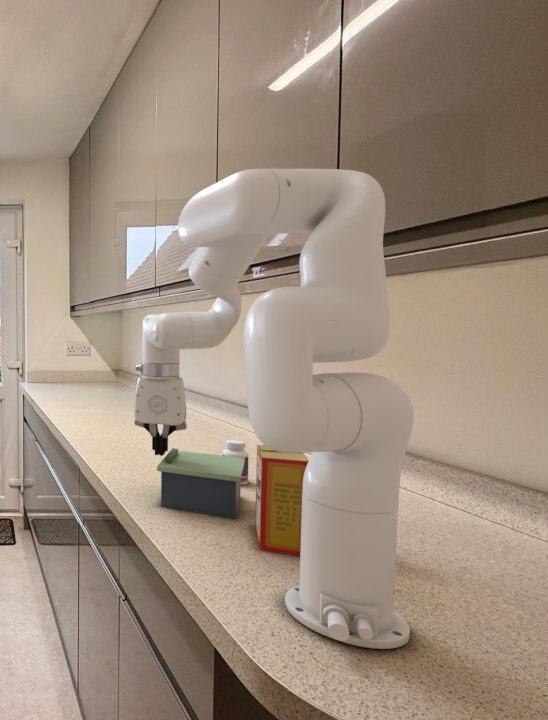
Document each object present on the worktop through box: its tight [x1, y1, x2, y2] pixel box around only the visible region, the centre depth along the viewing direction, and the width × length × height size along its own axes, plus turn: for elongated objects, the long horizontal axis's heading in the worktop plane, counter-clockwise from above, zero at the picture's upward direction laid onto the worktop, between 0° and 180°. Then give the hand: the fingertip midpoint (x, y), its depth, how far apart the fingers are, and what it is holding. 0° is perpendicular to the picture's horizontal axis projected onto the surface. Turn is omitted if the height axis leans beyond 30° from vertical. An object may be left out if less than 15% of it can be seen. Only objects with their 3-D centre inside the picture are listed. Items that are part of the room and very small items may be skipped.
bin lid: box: [156, 447, 245, 482], centre depth 104 cm, size 15×15×2 cm
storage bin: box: [160, 471, 242, 520], centre depth 105 cm, size 14×14×8 cm
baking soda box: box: [254, 444, 309, 557], centre depth 85 cm, size 10×6×16 cm
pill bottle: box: [222, 439, 249, 486], centre depth 117 cm, size 5×5×10 cm
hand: (160, 453), depth 109 cm, fingers closed
